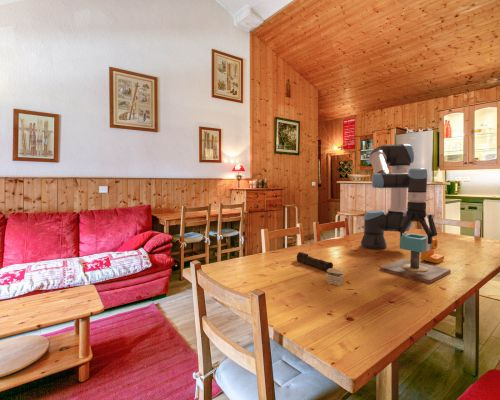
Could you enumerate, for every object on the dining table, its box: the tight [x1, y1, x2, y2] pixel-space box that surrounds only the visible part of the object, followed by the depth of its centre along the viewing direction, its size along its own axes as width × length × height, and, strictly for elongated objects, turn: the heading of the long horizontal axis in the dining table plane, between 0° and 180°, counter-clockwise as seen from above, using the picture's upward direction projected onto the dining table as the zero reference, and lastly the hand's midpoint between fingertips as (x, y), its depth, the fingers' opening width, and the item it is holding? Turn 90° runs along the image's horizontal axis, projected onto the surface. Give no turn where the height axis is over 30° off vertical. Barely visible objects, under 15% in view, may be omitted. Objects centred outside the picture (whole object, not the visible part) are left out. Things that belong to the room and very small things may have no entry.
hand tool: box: [296, 251, 334, 272], centre depth 144 cm, size 23×5×6 cm, turn 33°
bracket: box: [420, 238, 445, 264], centre depth 149 cm, size 11×7×12 cm, turn 126°
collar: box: [399, 232, 432, 253], centre depth 132 cm, size 10×10×6 cm
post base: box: [379, 251, 452, 284], centre depth 133 cm, size 22×22×11 cm
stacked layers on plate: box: [326, 267, 344, 287], centre depth 121 cm, size 10×9×6 cm
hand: (415, 248), depth 132 cm, fingers closed on collar, 10 cm apart
